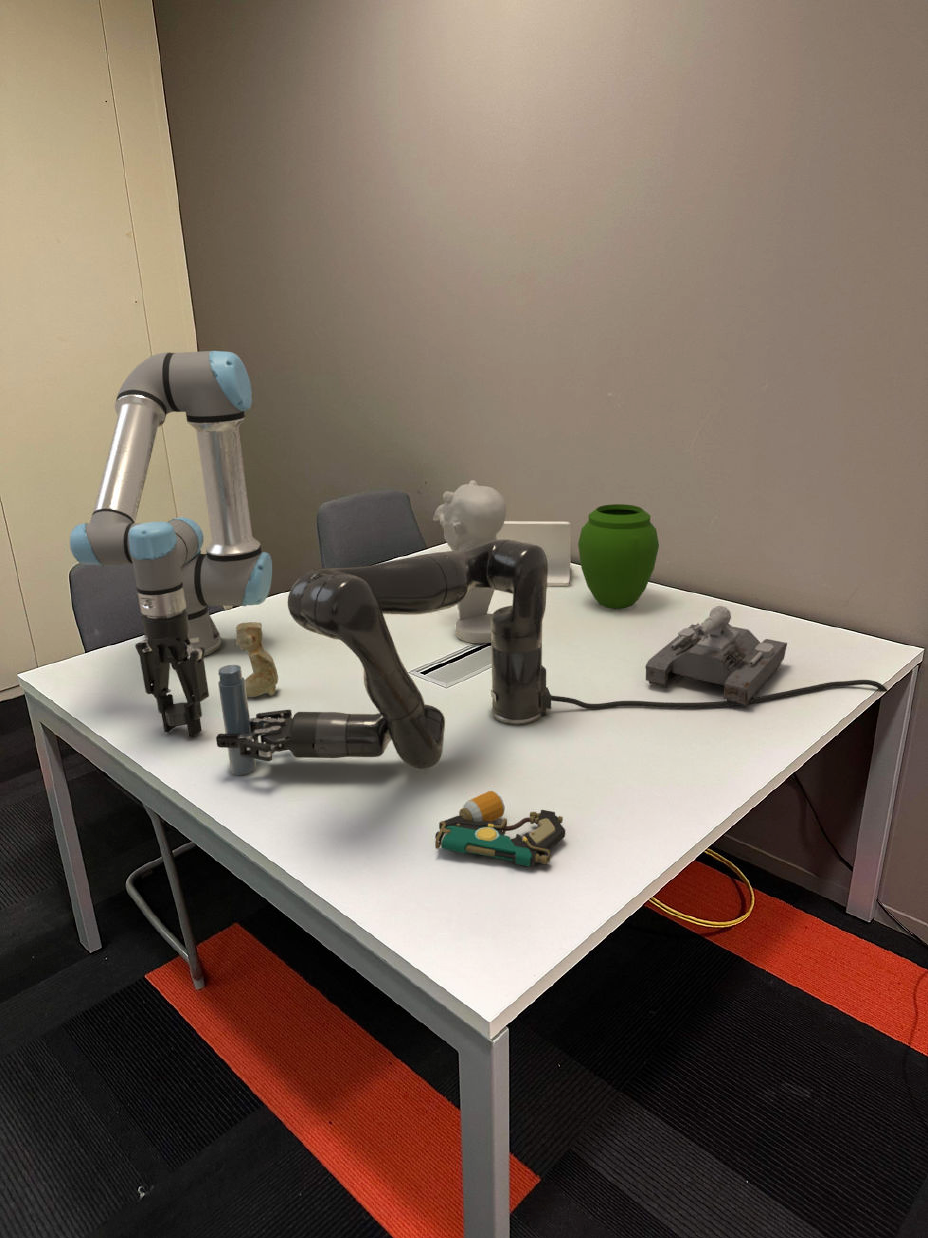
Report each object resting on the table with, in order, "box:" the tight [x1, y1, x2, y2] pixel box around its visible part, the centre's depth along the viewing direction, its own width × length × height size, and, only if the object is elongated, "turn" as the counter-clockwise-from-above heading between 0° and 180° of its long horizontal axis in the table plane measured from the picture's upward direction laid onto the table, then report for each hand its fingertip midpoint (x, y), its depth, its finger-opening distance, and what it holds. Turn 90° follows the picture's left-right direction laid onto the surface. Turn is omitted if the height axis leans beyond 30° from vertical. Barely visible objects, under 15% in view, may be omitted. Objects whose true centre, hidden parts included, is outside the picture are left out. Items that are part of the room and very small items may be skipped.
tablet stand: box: [496, 520, 572, 587], centre depth 236 cm, size 18×25×17 cm
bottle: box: [217, 664, 257, 776], centre depth 141 cm, size 4×4×18 cm
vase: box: [577, 503, 660, 610], centre depth 210 cm, size 20×20×24 cm
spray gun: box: [434, 790, 566, 867], centre depth 122 cm, size 4×17×15 cm
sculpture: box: [235, 621, 279, 698], centre depth 169 cm, size 6×7×15 cm
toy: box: [645, 605, 788, 706], centre depth 170 cm, size 25×20×15 cm
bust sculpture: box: [432, 479, 507, 644], centre depth 196 cm, size 16×24×35 cm, turn 28°
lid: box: [165, 701, 187, 727], centre depth 155 cm, size 5×5×2 cm
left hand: (183, 731), depth 156 cm, fingers closed on lid, 5 cm apart
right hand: (222, 733), depth 142 cm, fingers closed on bottle, 4 cm apart
